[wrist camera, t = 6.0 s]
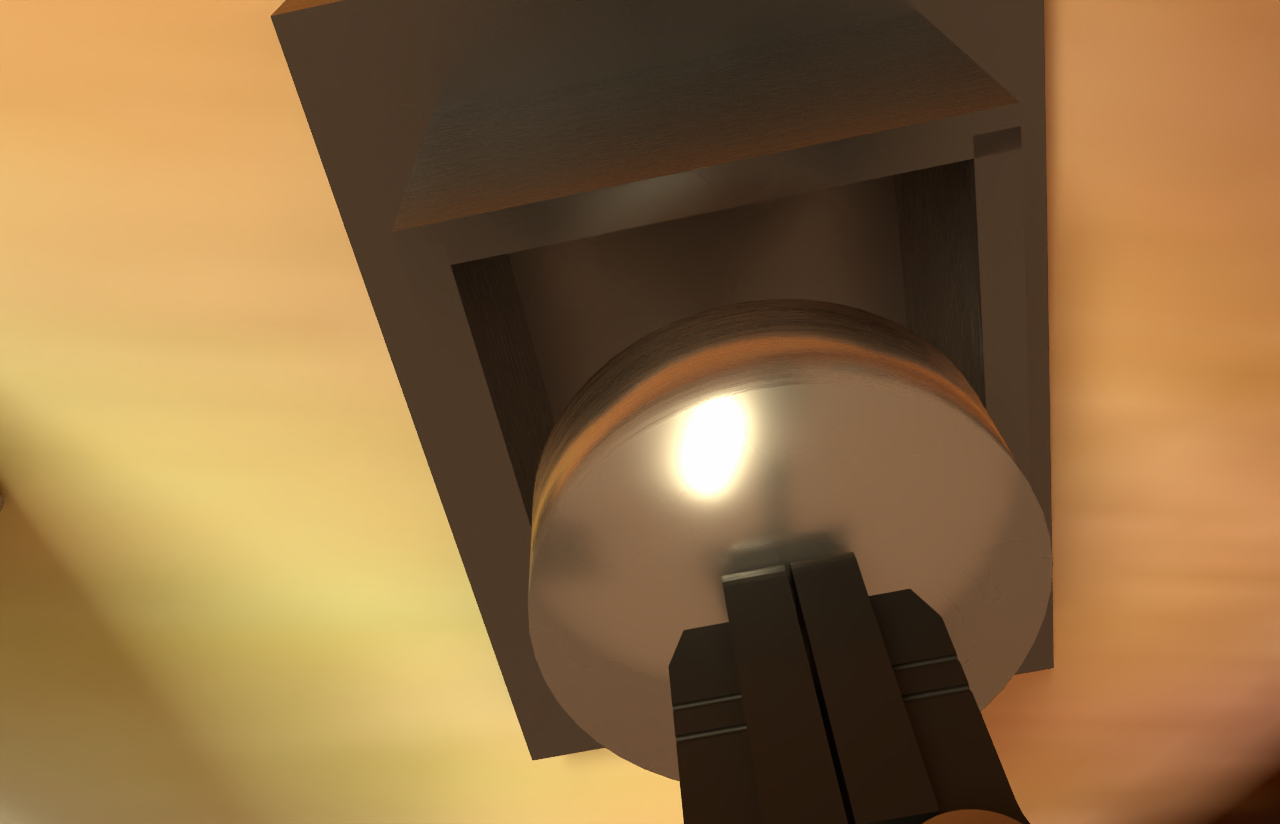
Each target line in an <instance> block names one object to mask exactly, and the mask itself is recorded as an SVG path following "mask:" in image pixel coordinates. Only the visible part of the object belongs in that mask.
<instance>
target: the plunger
mask: <svg viewBox="0 0 1280 824" xmlns="http://www.w3.org/2000/svg"><path fill="white" fill-rule="evenodd" d="M847 552H853V553H854V554H855V557H856V559H857V562H858V565H859V568H860V571H861V574H862V577H863V580H864V584H865V587H866V590H867V593H868V596H872V595H877V594H883V593H888V592H894V591H899V590H905V589H911V590H912V591H914V592H915V593H916V594H917V595H918V596H919V597H920V598H921V599H922V600H924V601H925V602H926V603H927V604H928V605H929V606H930V607H931V608H933V609H934V610H935V611H936V612H937V613H938V614H939V615H940V616H941V617H942V618H943V621H944V623H945V626H946V628H947V631H948V633H949V636H950V638H951V641H952V643H953V646H954V648H955V651H956V653H957V658H958V661H960V663H961V665H962V668H963V670H964V673H965V675H966V678H967V680H968V683H969V688H970V691H972V693H973V695H974V698H975V700H976V703H977V705H978V708H979V710H980V712H981V711H982V710H983V709H984V708H985V707H986V706H987V705H988V704H989V703H990V702H991V701H992V700H993V699H994V698H995V697H996V696H997V695H998V694H999V693H1000V692H1001V691H1002V690H1003V688H1004V687H1005V686H1006V685H1007V683H1008V682H1009V681H1010V679H1011V678H1012V677H1013V675H1014V674H1015V673H1016V671H1017V670H1018V669H1019V668H1020V666H1021V665H1022V663H1023V661H1024V659H1025V658H1026V656H1027V654H1028V652H1029V651H1030V649H1031V647H1032V645H1033V644H1034V642H1035V640H1036V637H1037V635H1038V632H1039V630H1040V627H1041V625H1042V622H1043V620H1044V617H1045V613H1046V609H1047V605H1048V601H1049V596H1050V592H1051V582H1052V568H1053V561H1052V551H1051V541H1050V535H1049V532H1048V528H1047V525H1046V521H1045V517H1044V514H1043V511H1042V509H1041V507H1040V505H1039V503H1038V500H1037V498H1036V496H1035V494H1034V492H1033V490H1032V488H1031V486H1030V484H1029V483H1028V481H1027V479H1026V478H1025V476H1024V474H1023V472H1022V471H1021V469H1020V467H1019V466H1018V464H1017V462H1016V460H1015V459H1014V457H1013V455H1012V454H1011V452H1010V450H1009V449H1008V447H1007V445H1006V443H1005V442H1004V440H1003V438H1002V437H1001V435H1000V433H999V431H998V430H997V428H996V426H995V425H994V423H993V421H992V419H991V418H990V416H989V414H988V413H987V411H986V409H985V408H984V406H983V404H982V402H981V401H980V399H979V397H978V396H977V394H976V392H975V391H974V390H973V388H972V387H971V385H970V384H969V383H968V381H967V380H966V378H965V377H964V376H963V374H962V373H961V371H960V370H959V369H958V368H957V367H956V366H955V365H954V364H953V363H952V362H951V361H950V360H949V359H948V358H947V357H946V356H945V355H944V354H943V353H942V352H941V351H939V350H938V349H937V348H935V347H934V346H933V345H931V344H930V343H929V342H927V341H926V340H925V339H923V338H922V337H921V336H919V335H918V334H916V333H914V332H912V331H911V330H909V329H907V328H905V327H903V326H901V325H899V324H897V323H896V322H894V321H892V320H890V319H887V318H884V317H881V316H879V315H876V314H873V313H871V312H868V311H865V310H863V309H859V308H854V307H850V306H846V305H841V304H837V303H833V302H825V301H815V300H805V299H764V300H756V301H749V302H742V303H735V304H729V305H725V306H721V307H717V308H714V309H710V310H706V311H702V312H698V313H695V314H693V315H690V316H688V317H685V318H683V319H680V320H677V321H675V322H672V323H670V324H667V325H665V326H663V327H661V328H659V329H658V330H656V331H654V332H652V333H650V334H648V335H646V336H644V337H643V338H641V339H639V340H637V341H636V342H634V343H633V344H631V345H630V346H629V347H627V348H626V349H624V350H623V351H621V352H620V353H619V354H617V355H616V356H614V357H613V358H611V359H610V360H609V361H608V362H607V363H606V364H605V365H604V366H603V367H601V368H600V369H599V370H598V371H597V372H596V373H595V374H594V375H593V376H592V377H590V378H589V379H588V380H587V382H586V383H585V384H584V385H583V386H582V387H581V389H580V390H579V391H578V392H577V393H576V395H575V396H574V397H573V398H572V399H571V401H570V402H569V403H568V405H567V406H566V408H565V409H564V411H563V413H562V414H561V416H560V417H559V419H558V421H557V422H556V424H555V425H554V427H553V429H552V431H551V434H550V436H549V438H548V441H547V443H546V445H545V447H544V450H543V452H542V455H541V459H540V463H539V467H538V470H537V474H536V478H535V487H534V497H533V510H532V531H531V551H530V572H529V593H528V617H529V633H530V637H531V642H532V646H533V650H534V654H535V658H536V661H537V663H538V666H539V668H540V670H541V673H542V675H543V677H544V680H545V682H546V684H547V685H548V687H549V688H550V690H551V692H552V693H553V695H554V696H555V698H556V700H557V701H558V703H559V704H560V705H561V707H562V708H563V709H564V710H565V711H566V712H567V713H568V715H569V716H570V717H571V718H572V719H573V720H574V722H575V723H576V724H577V725H578V726H579V727H581V728H582V729H583V730H584V731H585V732H586V733H588V734H589V735H590V736H591V737H592V738H593V739H594V740H596V741H597V742H598V743H600V744H601V745H603V746H604V747H606V748H607V749H609V750H610V751H612V752H613V753H615V754H616V755H618V756H619V757H621V758H623V759H625V760H627V761H629V762H631V763H633V764H635V765H637V766H639V767H641V768H643V769H646V770H648V771H651V772H654V773H656V774H659V775H662V776H665V777H667V778H670V779H673V780H677V781H680V778H679V768H678V758H677V748H676V744H677V743H676V737H675V728H674V718H673V706H672V698H671V688H670V678H669V668H668V666H669V664H670V661H671V659H672V657H673V654H674V652H675V649H676V647H677V645H678V642H679V640H680V637H681V635H682V633H683V630H687V629H692V628H698V627H703V626H709V625H714V624H720V623H725V622H729V619H728V614H727V608H726V602H725V596H724V590H723V584H722V578H721V576H724V575H729V574H734V573H740V572H745V571H751V570H756V569H762V568H767V567H772V566H778V565H783V564H784V566H785V569H786V573H787V577H788V581H789V585H790V589H791V594H792V598H793V602H794V606H795V610H796V605H795V599H794V593H793V587H792V581H791V575H790V567H789V563H792V562H798V561H803V560H809V559H814V558H820V557H825V556H830V555H836V554H841V553H847ZM796 614H797V611H796ZM797 618H798V617H797Z"/></svg>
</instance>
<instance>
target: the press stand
mask: <svg viewBox="0 0 1280 824" xmlns="http://www.w3.org/2000/svg"><path fill="white" fill-rule="evenodd" d="M271 19H272V22H273V24H274V27H275V30H276V33H277V36H278V39H279V42H280V44H281V47H282V50H283V53H284V56H285V59H286V61H287V64H288V67H289V70H290V73H291V76H292V78H293V81H294V84H295V87H296V90H297V93H298V96H299V98H300V101H301V104H302V107H303V110H304V113H305V115H306V118H307V121H308V124H309V127H310V130H311V132H312V135H313V138H314V141H315V144H316V147H317V149H318V152H319V155H320V158H321V161H322V164H323V167H324V169H325V172H326V175H327V178H328V181H329V184H330V186H331V189H332V192H333V195H334V198H335V201H336V203H337V206H338V209H339V212H340V215H341V218H342V221H343V223H344V226H345V229H346V232H347V235H348V238H349V240H350V243H351V246H352V249H353V252H354V255H355V257H356V260H357V263H358V266H359V269H360V272H361V275H362V277H363V280H364V283H365V286H366V289H367V292H368V294H369V297H370V300H371V303H372V306H373V309H374V311H375V314H376V317H377V320H378V323H379V326H380V328H381V331H382V334H383V337H384V340H385V343H386V346H387V348H388V351H389V354H390V357H391V360H392V363H393V365H394V368H395V371H396V374H397V377H398V380H399V382H400V385H401V388H402V391H403V394H404V397H405V400H406V402H407V405H408V408H409V411H410V414H411V417H412V419H413V422H414V425H415V428H416V431H417V434H418V436H419V439H420V442H421V445H422V448H423V451H424V454H425V456H426V459H427V462H428V465H429V468H430V471H431V473H432V476H433V479H434V482H435V485H436V488H437V490H438V493H439V496H440V499H441V502H442V505H443V507H444V510H445V513H446V516H447V519H448V522H449V525H450V527H451V530H452V533H453V536H454V539H455V542H456V544H457V547H458V550H459V553H460V556H461V559H462V561H463V564H464V567H465V570H466V573H467V576H468V579H469V581H470V584H471V587H472V590H473V593H474V596H475V598H476V601H477V604H478V607H479V610H480V613H481V615H482V618H483V621H484V624H485V627H486V630H487V633H488V635H489V638H490V641H491V644H492V647H493V650H494V652H495V655H496V658H497V661H498V664H499V667H500V669H501V672H502V675H503V678H504V681H505V684H506V686H507V689H508V692H509V695H510V698H511V701H512V704H513V706H514V709H515V712H516V715H517V718H518V721H519V723H520V726H521V729H522V732H523V735H524V738H525V740H526V743H527V746H528V749H529V752H530V755H531V758H532V760H538V759H543V758H549V757H555V756H560V755H566V754H572V753H577V752H583V751H588V750H594V749H600V748H605V747H604V746H603V745H601V744H600V743H598V742H597V741H596V740H594V739H593V738H592V737H591V736H590V735H589V734H588V733H586V732H585V731H584V730H583V729H582V728H581V727H579V726H578V725H577V724H576V723H575V722H574V720H573V719H572V718H571V717H570V716H569V715H568V713H567V712H566V711H565V710H564V709H563V708H562V707H561V705H560V704H559V703H558V701H557V700H556V698H555V696H554V695H553V693H552V692H551V690H550V688H549V687H548V685H547V684H546V682H545V680H544V677H543V675H542V673H541V670H540V668H539V666H538V663H537V661H536V658H535V654H534V650H533V646H532V642H531V637H530V633H529V617H528V593H529V572H530V551H531V531H532V510H533V497H534V487H535V478H536V474H537V470H538V467H539V463H540V459H541V455H542V452H543V450H544V447H545V445H546V443H547V441H548V438H549V436H550V434H551V431H552V429H553V427H554V425H555V424H556V422H557V421H558V419H559V417H560V416H561V414H562V413H563V411H564V409H565V408H566V406H567V405H568V403H569V402H570V401H571V399H572V398H573V397H574V396H575V395H576V393H577V392H578V391H579V390H580V389H581V387H582V386H583V385H584V384H585V383H586V382H587V380H588V379H589V378H590V377H592V376H593V375H594V374H595V373H596V372H597V371H598V370H599V369H600V368H601V367H603V366H604V365H605V364H606V363H607V362H608V361H609V360H610V359H611V358H613V357H614V356H616V355H617V354H619V353H620V352H621V351H623V350H624V349H626V348H627V347H629V346H630V345H631V344H633V343H634V342H636V341H637V340H639V339H641V338H643V337H644V336H646V335H648V334H650V333H652V332H654V331H656V330H658V329H659V328H661V327H663V326H665V325H667V324H670V323H672V322H675V321H677V320H680V319H683V318H685V317H688V316H690V315H693V314H695V313H698V312H702V311H706V310H710V309H714V308H717V307H721V306H725V305H729V304H735V303H742V302H749V301H756V300H764V299H805V300H815V301H825V302H833V303H837V304H841V305H846V306H850V307H854V308H859V309H863V310H865V311H868V312H871V313H873V314H876V315H879V316H881V317H884V318H887V319H890V320H892V321H894V322H896V323H897V324H899V325H901V326H903V327H905V328H907V329H909V330H911V331H912V332H914V333H916V334H918V335H919V336H921V337H922V338H923V339H925V340H926V341H927V342H929V343H930V344H931V345H933V346H934V347H935V348H937V349H938V350H939V351H941V352H942V353H943V354H944V355H945V356H946V357H947V358H948V359H949V360H950V361H951V362H952V363H953V364H954V365H955V366H956V367H957V368H958V369H959V370H960V371H961V373H962V374H963V376H964V377H965V378H966V380H967V381H968V383H969V384H970V385H971V387H972V388H973V390H974V391H975V392H976V394H977V396H978V397H979V399H980V401H981V402H982V404H983V406H984V408H985V409H986V411H987V413H988V414H989V416H990V418H991V419H992V421H993V423H994V425H995V426H996V428H997V430H998V431H999V433H1000V435H1001V437H1002V438H1003V440H1004V442H1005V443H1006V445H1007V447H1008V449H1009V450H1010V452H1011V454H1012V455H1013V457H1014V459H1015V460H1016V462H1017V464H1018V466H1019V467H1020V469H1021V471H1022V472H1023V474H1024V476H1025V478H1026V479H1027V481H1028V483H1029V484H1030V486H1031V488H1032V490H1033V492H1034V494H1035V496H1036V498H1037V500H1038V503H1039V505H1040V507H1041V509H1042V511H1043V514H1044V517H1045V521H1046V525H1047V528H1048V532H1049V535H1050V541H1051V551H1052V527H1051V460H1050V392H1049V325H1048V258H1047V191H1046V124H1045V57H1044V0H286V1H285V2H284V3H283V4H282V5H281V6H280V7H279V8H278V9H277V10H276V11H275V12H274V13H273V14H272V15H271ZM1050 668H1054V661H1053V594H1052V582H1051V592H1050V596H1049V601H1048V605H1047V609H1046V613H1045V617H1044V620H1043V622H1042V625H1041V627H1040V630H1039V632H1038V635H1037V637H1036V640H1035V642H1034V644H1033V645H1032V647H1031V649H1030V651H1029V652H1028V654H1027V656H1026V658H1025V659H1024V661H1023V663H1022V665H1021V666H1020V668H1019V669H1018V670H1017V671H1016V673H1015V674H1014V675H1016V674H1022V673H1028V672H1033V671H1039V670H1045V669H1050Z"/></svg>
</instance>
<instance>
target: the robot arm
mask: <svg viewBox="0 0 1280 824" xmlns="http://www.w3.org/2000/svg"><path fill="white" fill-rule="evenodd" d="M789 567H790V575H791V581H792V587H793V593H794V599H795V605H796V610H795V606H794V602H793V598H792V594H791V589H790V585H789V581H788V577H787V573H786V569H785V566H784V564H783V565H778V566H772V567H767V568H762V569H756V570H751V571H745V572H740V573H734V574H729V575H724V576H721V578H722V584H723V590H724V596H725V602H726V608H727V614H728V619H729V622H725V623H720V624H714V625H709V626H703V627H698V628H692V629H687V630H683V633H682V635H681V637H680V640H679V642H678V645H677V647H676V649H675V652H674V654H673V657H672V659H671V661H670V664H669V666H668V668H669V678H670V688H671V698H672V706H673V718H674V728H675V737H676V743H677V744H676V748H677V758H678V768H679V778H680V788H681V798H682V808H683V818H684V824H1030V823H1029V822H1028V820H1027V819H1026V817H1025V816H1024V815H1023V813H1022V812H1021V810H1020V808H1019V806H1018V804H1017V802H1016V800H1015V797H1014V795H1013V792H1012V790H1011V787H1010V785H1009V782H1008V780H1007V777H1006V775H1005V772H1004V770H1003V767H1002V765H1001V762H1000V760H999V757H998V755H997V752H996V750H995V747H994V745H993V742H992V740H991V737H990V735H989V732H988V730H987V728H986V725H985V723H984V720H983V718H982V715H981V713H980V710H979V708H978V705H977V703H976V700H975V698H974V695H973V693H972V691H970V688H969V683H968V680H967V678H966V675H965V673H964V670H963V668H962V665H961V663H960V661H958V658H957V653H956V651H955V648H954V646H953V643H952V641H951V638H950V636H949V633H948V631H947V628H946V626H945V623H944V621H943V618H942V617H941V616H940V615H939V614H938V613H937V612H936V611H935V610H934V609H933V608H931V607H930V606H929V605H928V604H927V603H926V602H925V601H924V600H922V599H921V598H920V597H919V596H918V595H917V594H916V593H915V592H914V591H912V590H911V589H905V590H899V591H894V592H888V593H883V594H877V595H872V596H868V593H867V590H866V587H865V584H864V580H863V577H862V574H861V571H860V568H859V565H858V562H857V559H856V557H855V554H854V553H853V552H847V553H841V554H836V555H830V556H825V557H820V558H814V559H809V560H803V561H798V562H792V563H789ZM796 611H797V614H796ZM797 617H798V618H797Z"/></svg>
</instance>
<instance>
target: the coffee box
mask: <svg viewBox="0 0 1280 824" xmlns="http://www.w3.org/2000/svg"><path fill="white" fill-rule="evenodd" d="M3 502H4V499H3V497H2V496H1V494H0V510H1V509H2V507H3Z"/></svg>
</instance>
